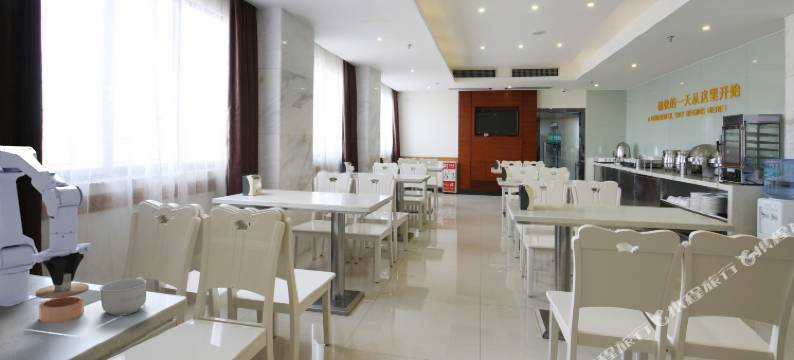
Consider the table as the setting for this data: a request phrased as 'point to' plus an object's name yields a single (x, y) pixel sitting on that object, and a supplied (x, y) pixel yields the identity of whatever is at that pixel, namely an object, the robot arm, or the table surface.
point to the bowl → (61, 309)
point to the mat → (89, 296)
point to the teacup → (123, 296)
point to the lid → (62, 289)
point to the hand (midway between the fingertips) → (63, 283)
